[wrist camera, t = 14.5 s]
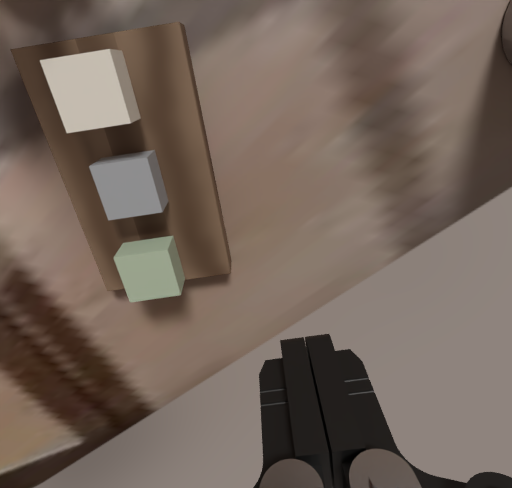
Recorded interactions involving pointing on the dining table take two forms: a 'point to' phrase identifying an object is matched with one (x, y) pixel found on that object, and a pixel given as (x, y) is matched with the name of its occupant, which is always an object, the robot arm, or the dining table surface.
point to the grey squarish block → (130, 185)
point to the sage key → (150, 269)
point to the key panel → (139, 149)
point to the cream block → (91, 90)
